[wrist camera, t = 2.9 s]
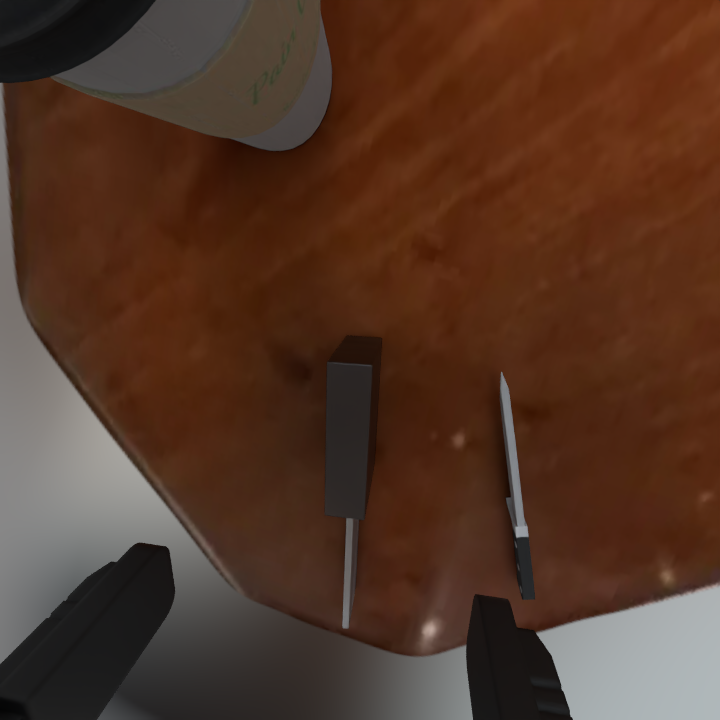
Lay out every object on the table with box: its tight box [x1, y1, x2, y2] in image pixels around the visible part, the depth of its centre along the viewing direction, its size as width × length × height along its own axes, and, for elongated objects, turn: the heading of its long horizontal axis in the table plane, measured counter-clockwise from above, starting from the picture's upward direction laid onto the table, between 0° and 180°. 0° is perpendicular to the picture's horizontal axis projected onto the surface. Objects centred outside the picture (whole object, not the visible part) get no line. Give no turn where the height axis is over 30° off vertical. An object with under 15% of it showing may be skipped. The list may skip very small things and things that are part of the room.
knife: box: [500, 371, 535, 600], centre depth 21 cm, size 15×1×2 cm, turn 12°
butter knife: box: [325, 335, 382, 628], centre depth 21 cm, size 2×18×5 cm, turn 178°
